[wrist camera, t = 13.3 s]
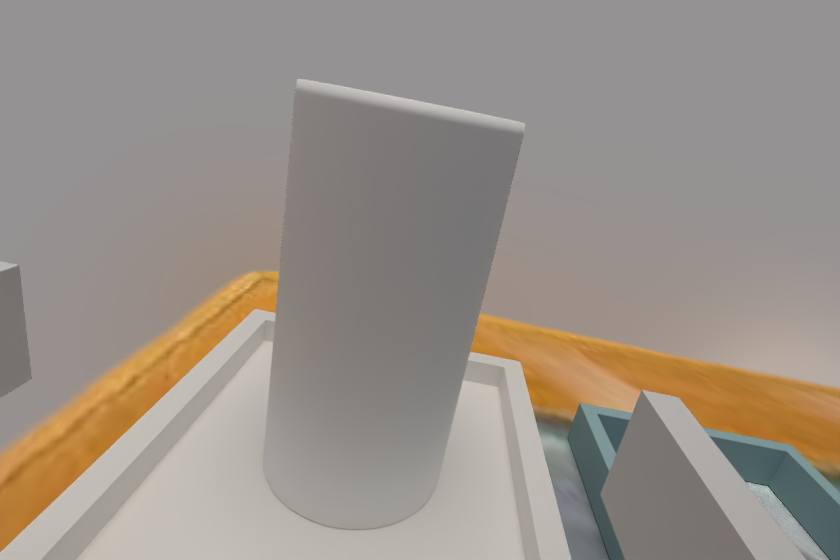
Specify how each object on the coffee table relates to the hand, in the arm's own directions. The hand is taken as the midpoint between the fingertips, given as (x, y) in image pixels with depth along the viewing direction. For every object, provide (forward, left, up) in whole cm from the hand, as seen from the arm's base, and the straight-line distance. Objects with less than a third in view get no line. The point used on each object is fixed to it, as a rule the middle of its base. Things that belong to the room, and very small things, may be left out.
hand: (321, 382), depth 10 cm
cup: (-7, -7, -10) cm, 14 cm away
